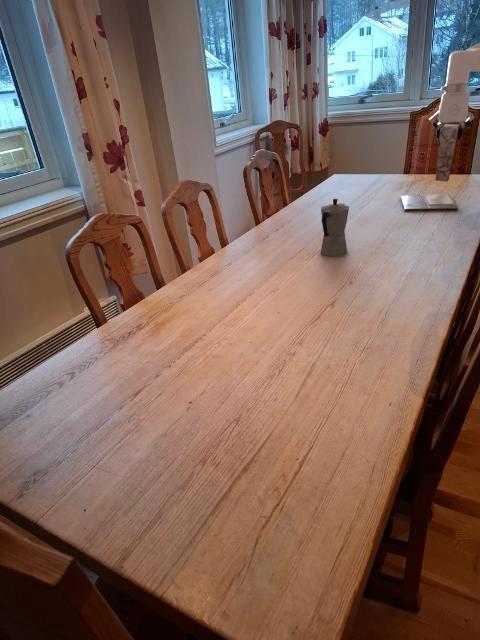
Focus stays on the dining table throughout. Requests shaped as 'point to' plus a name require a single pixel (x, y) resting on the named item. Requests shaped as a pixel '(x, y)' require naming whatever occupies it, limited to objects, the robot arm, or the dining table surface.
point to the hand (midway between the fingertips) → (448, 139)
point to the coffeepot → (334, 229)
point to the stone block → (446, 151)
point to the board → (428, 203)
